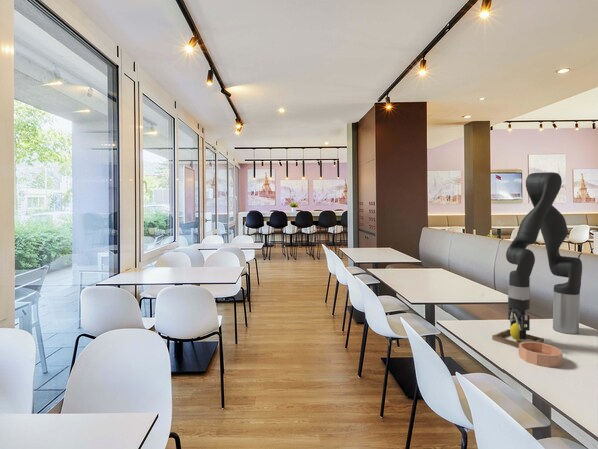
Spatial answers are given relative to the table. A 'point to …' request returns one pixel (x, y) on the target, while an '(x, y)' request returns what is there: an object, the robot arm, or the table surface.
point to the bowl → (540, 354)
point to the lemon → (515, 331)
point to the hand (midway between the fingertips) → (517, 335)
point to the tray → (498, 338)
